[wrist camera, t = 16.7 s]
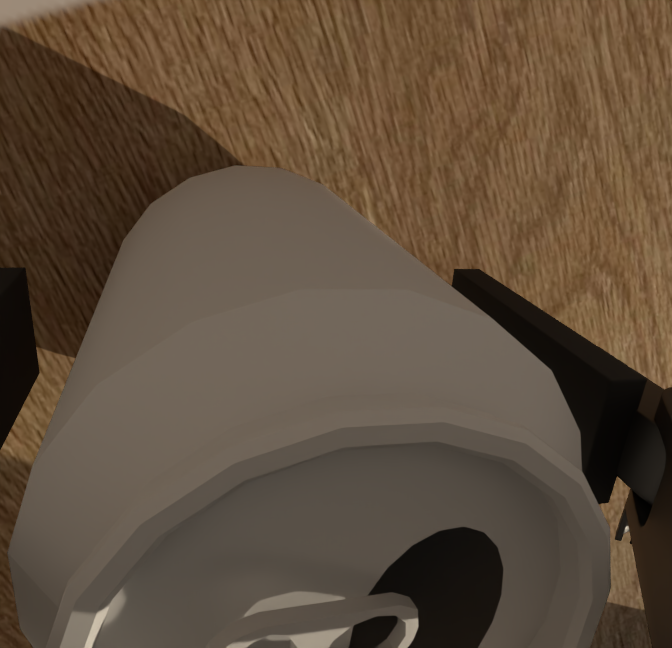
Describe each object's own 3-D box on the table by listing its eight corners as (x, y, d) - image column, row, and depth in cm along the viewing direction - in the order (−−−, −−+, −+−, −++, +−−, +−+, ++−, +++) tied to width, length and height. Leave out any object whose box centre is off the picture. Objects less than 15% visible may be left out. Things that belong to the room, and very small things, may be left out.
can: (340, 414, 19) (537, 848, 8) (100, 392, 17) (-55, 948, 6) (403, 192, 17) (799, 401, 6) (131, 130, 14) (-41, 287, 4)
